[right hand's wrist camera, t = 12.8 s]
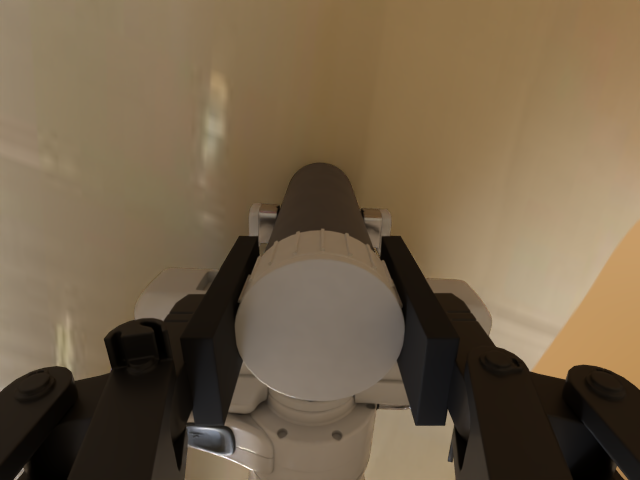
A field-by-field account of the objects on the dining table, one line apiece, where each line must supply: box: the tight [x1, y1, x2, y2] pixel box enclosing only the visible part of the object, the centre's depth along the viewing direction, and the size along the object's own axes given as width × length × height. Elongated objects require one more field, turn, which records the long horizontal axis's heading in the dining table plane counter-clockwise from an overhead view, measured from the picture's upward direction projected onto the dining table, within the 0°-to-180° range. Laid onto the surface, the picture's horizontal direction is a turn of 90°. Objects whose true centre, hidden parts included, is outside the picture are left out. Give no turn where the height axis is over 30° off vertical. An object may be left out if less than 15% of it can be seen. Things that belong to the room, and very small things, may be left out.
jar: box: [265, 163, 375, 253], centre depth 18 cm, size 5×5×16 cm
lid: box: [235, 229, 405, 401], centre depth 11 cm, size 5×5×2 cm
